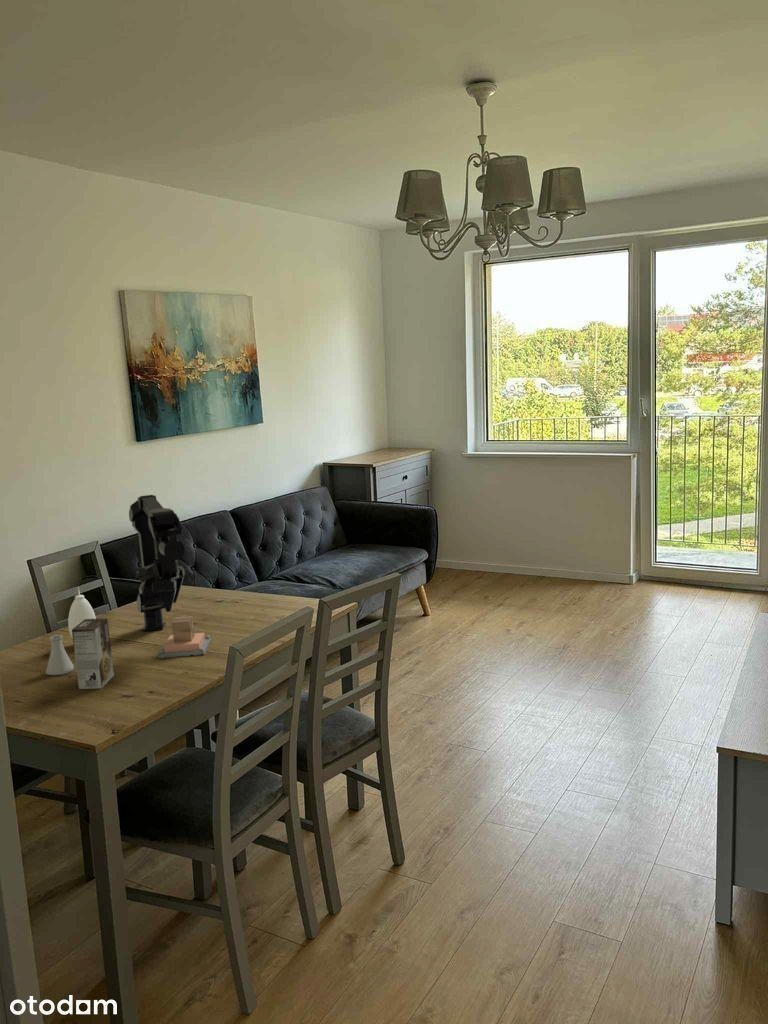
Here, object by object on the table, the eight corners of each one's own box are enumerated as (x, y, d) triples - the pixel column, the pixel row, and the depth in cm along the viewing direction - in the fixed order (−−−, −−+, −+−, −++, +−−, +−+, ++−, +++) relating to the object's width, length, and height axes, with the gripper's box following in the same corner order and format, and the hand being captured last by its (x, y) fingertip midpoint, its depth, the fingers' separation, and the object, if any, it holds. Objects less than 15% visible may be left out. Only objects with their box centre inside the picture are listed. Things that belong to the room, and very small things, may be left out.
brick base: (167, 643, 244) (166, 633, 244) (211, 640, 245) (210, 630, 244) (158, 658, 231) (157, 647, 231) (204, 654, 232) (203, 644, 232)
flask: (64, 676, 220) (60, 641, 219) (40, 676, 222) (36, 640, 220) (79, 667, 227) (75, 632, 226) (55, 666, 229) (51, 632, 227)
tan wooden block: (177, 637, 240) (175, 617, 239) (194, 635, 240) (192, 616, 239) (174, 642, 235) (172, 622, 234) (191, 641, 235) (189, 621, 234)
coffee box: (91, 676, 219) (84, 618, 217) (115, 675, 219) (108, 617, 216) (77, 689, 210) (70, 629, 208) (102, 688, 210) (95, 628, 207)
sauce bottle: (87, 649, 242) (80, 591, 240) (65, 648, 245) (58, 590, 242) (104, 641, 250) (97, 584, 247) (83, 640, 252) (76, 583, 249)
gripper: (144, 549, 242) (149, 600, 245) (130, 563, 224) (135, 618, 226) (182, 546, 243) (187, 597, 245) (171, 560, 225) (176, 615, 227)
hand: (171, 607), depth 236 cm, fingers open, 9 cm apart
